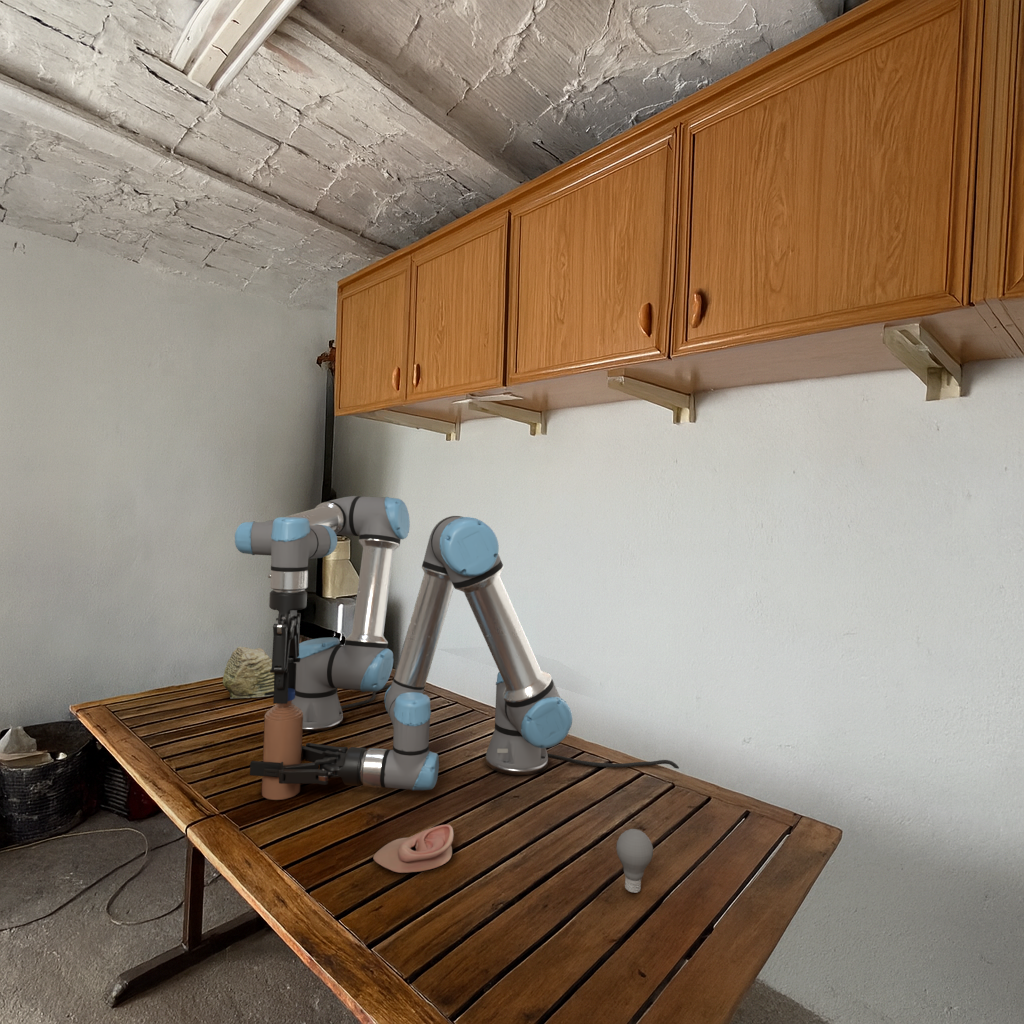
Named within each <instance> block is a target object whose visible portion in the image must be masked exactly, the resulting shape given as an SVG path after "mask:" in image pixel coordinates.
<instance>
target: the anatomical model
mask: <svg viewBox="0 0 1024 1024" xmlns="http://www.w3.org/2000/svg"><path fill="white" fill-rule="evenodd" d="M454 834H455V833H454V829H453V826H452V825H450V824H441V825H437V826H433V827H430V828H427V829H425V830H422V831H420V832H418V833H416V834H414V835H411V836H409V837H399V838H397V839H393V840H392V841H390V842H388V843H387V844H385V845H383V846H382V847H381V848H379V850H377V851H376V852H375V853H374V855H373V856H372V857H373V861H374V862H375V863H377V864H378V865H380V866H381V867H383V868H384V869H386V870H389V871H392V872H395V873H398V874H399V873H401V874H405V873H406V874H407V873H408V874H409V873H417V872H423V871H429V870H432V869H436V868H439V867H441V866H443V865H444V864H447V863H448V862H449V861H450V860H451V859H452V855H453V846H452V844H453V842H454V836H455V835H454Z"/></svg>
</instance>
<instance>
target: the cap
mask: <svg viewBox="0 0 1024 1024" xmlns="http://www.w3.org/2000/svg"><path fill="white" fill-rule="evenodd" d="M293 699H295V689H292V688H288V701H291V700H293Z"/></svg>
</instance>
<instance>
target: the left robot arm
mask: <svg viewBox="0 0 1024 1024" xmlns="http://www.w3.org/2000/svg"><path fill="white" fill-rule="evenodd" d="M410 523H411V521H410V514H409V510H408V507H407V505H406V503H405V502H404V500H402V499H400V498H397V497H389V496H362V495H361V496H360V495H351V496H343V497H339V498H336V499H331V500H327V501H324V502H320V503H318V505H316V506H315V507H314V508H312V509H308V510H304V511H301V512H297V513H293V514H290V515H286V516H280V517H275V518H274V519H269V520H266V521H259V522H258V521H244V522H242V523H240V524H239V525H238V526H237V528H236V530H235V532H234V545H235V547H236V550H237V551H238V552H240V553H241V554H244V555H245V554H246V555H252V556H255V555H256V556H270V564H271V565H270V573H268V574H267V578H268V579H270V584H269V588H270V589H271V591H270V592H269V599H268V600H269V603H268V607H269V608H270V610H273V611H278V617H276V618H275V623H273V625H272V632H273V635H272V636H273V637H272V638H273V639H272V653H271V655H272V657H271V659H272V668H271V670H270V673H274V695H273V696H272V697H273V699H272V700H273V702H272V703H273V704H275V705H276V704H287V703H288V688H292V689H295V699H293V700H292V703H293V704H294V705H296V706H297V707H298V708H300V709H301V710H302V712H303V733H316V732H325V731H329V730H332V729H335V728H337V727H339V726H340V725H342V723H343V722H344V714H343V710H344V709H349V708H354V707H358V706H361V705H365V704H369V703H371V702H373V701H374V700H375V699H376V694H377V693H378V692H380V691H382V690H386V689H388V688H389V687H390V686H391V685H392V683H391V684H387V683H388V681H389V679H390V676H391V675H392V670H393V668H394V667H393V666H394V653H393V651H392V650H391V649H389V648H388V645H389V642H388V640H387V639H386V638H385V636H384V632H385V624H386V618H387V617H386V616H387V608H388V600H389V593H390V584H391V577H392V568H393V560H394V552H395V551H396V550H397V549H398V548H400V546H401V540H404V539H407V538H408V536H409V533H410V525H411V524H410ZM337 535H340V536H351V537H358V543H359V544H360V545H361V546H362V554H361V562H360V568H359V569H360V570H359V578H358V585H357V592H356V600H355V607H354V612H353V613H354V615H353V622H352V628H351V633H350V634H349V635H348V636H347V637H346V638H345V639H344V644H340V643H341V641H340V639H339V638H338V637H334V636H333V637H318V638H313V639H307V640H304V641H302V642H300V629H301V628H300V627H301V625H300V624H301V616H302V615H301V612H298V611H301V610H304V609H306V608H307V604H308V603H307V602H308V601H307V599H308V592H307V591H306V589H307V588H308V587H309V560H312V559H322V558H325V557H327V556H331V554H333V552H334V551H335V550H336V548H337V545H338V536H337ZM386 684H387V685H386ZM338 689H339V690H340V689H341V690H347V691H348V690H349V691H359V692H362V693H366V692H368V693H369V692H370V693H371V692H372V696H371V697H370V698H368V699H365V700H361V701H357V702H353V703H348V704H344V705H341V702H340V699H339V695H338Z"/></svg>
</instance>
